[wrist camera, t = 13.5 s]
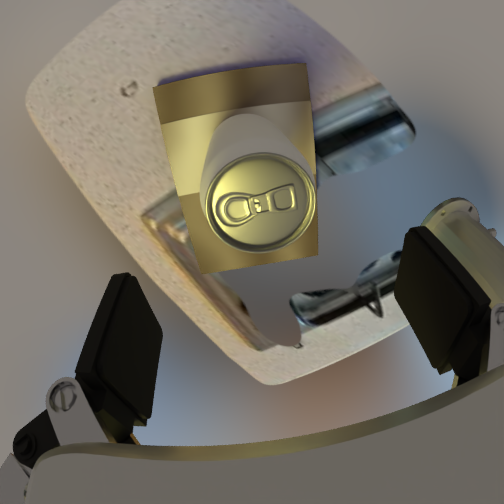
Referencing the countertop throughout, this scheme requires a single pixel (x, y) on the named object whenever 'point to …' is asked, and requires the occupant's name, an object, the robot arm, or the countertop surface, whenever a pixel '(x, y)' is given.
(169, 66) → the countertop surface
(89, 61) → the countertop surface
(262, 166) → the can
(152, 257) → the countertop surface
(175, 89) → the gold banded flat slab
